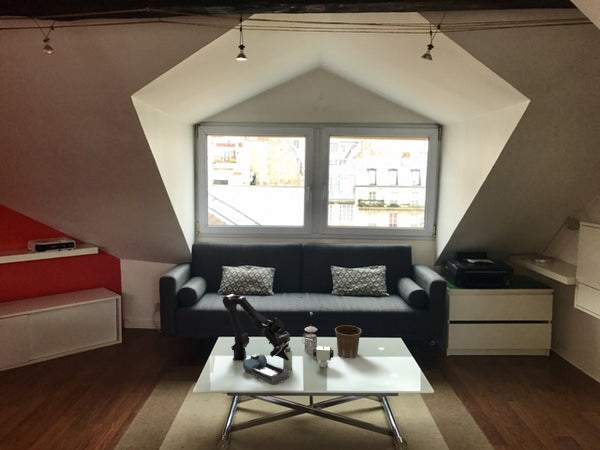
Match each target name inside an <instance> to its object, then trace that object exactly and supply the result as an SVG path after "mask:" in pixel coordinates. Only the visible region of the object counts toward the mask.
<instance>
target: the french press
mask: <svg viewBox="0 0 600 450" xmlns="http://www.w3.org/2000/svg"><path fill="white" fill-rule="evenodd" d="M309 315H314V313H313V312H312V311H310V312H309ZM304 331H305V332H304V333H303V335H301V336H302V337H301V338H304V340H301V342H302V344H304V348H303V349H302V352H304V353H306V354H309V355H310V354H312V355H313V349H316V346H318V337H317V335H316V334H315V332H317V331H318V328H316V326H312V325H310V326H307V327H305V328H304ZM306 332H307V333H306Z"/></svg>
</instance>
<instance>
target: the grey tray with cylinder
mask: <svg viewBox="0 0 600 450" xmlns="http://www.w3.org/2000/svg"><path fill="white" fill-rule="evenodd" d="M242 367H243V370H244V372H246V373H247V374H249V373H250V375H252V376H253V377H256V378H258V379H259V380H261V381H264V382H265V383H267V384H270V386H275V385H277V383H278V384H280V383H282V382H284V381H286V380H289V379H290V371H289V370H288V369H287V370H284V369H283V368H282V367H279V366H278V365H275V364H273V363H271V362H269V361H268V360H267V357H266V355H264V354H263V353H261V354H258V353H253V354H251V355H250V358H248V359H244V360H243V361H242ZM281 381H282V382H281ZM279 382H280V383H279Z"/></svg>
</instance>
